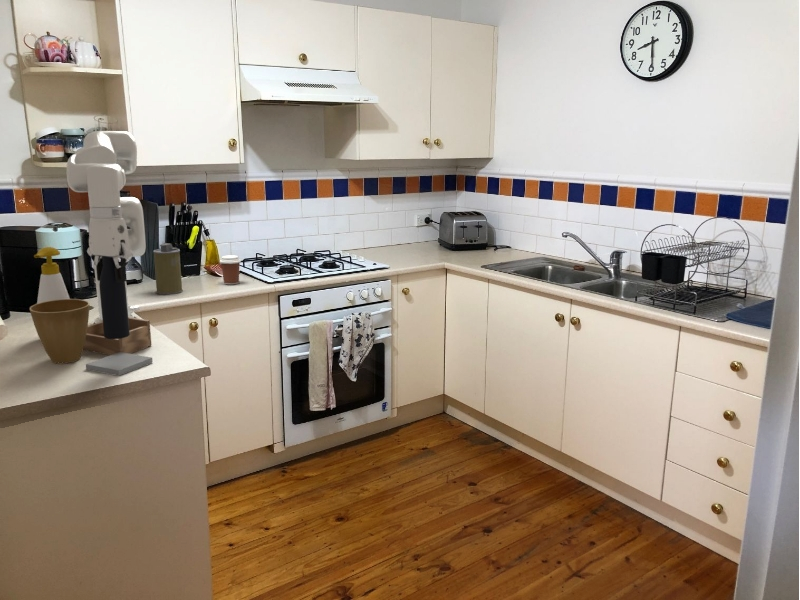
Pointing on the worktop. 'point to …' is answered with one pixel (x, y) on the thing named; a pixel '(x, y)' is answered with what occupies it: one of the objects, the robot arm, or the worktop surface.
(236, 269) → the coffee cup
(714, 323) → the worktop surface
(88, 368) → the tile
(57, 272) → the soap bottle
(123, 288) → the black water bottle
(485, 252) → the worktop surface
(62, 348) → the plant pot
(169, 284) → the canister
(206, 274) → the worktop surface
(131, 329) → the wooden box
